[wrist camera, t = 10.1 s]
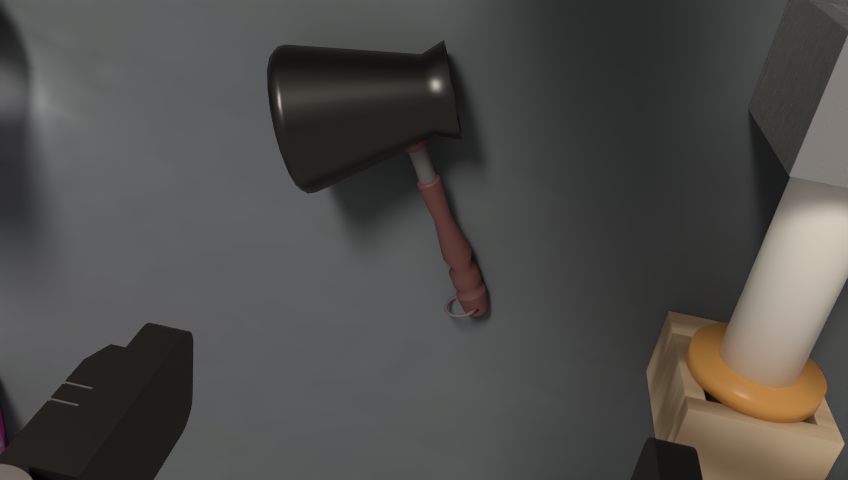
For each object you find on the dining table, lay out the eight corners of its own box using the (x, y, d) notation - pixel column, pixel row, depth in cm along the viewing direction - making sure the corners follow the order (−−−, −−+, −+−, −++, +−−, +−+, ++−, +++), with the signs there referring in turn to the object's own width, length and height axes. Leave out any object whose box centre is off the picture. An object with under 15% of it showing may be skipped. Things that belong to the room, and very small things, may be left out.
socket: (668, 310, 46) (688, 408, 39) (798, 338, 46) (844, 443, 38) (646, 371, 49) (660, 475, 41) (770, 398, 48) (808, 509, 41)
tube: (787, 39, 37) (829, 83, 31) (937, 68, 37) (1008, 118, 31) (666, 356, 46) (681, 436, 40) (786, 382, 46) (818, 467, 40)
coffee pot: (276, 26, 42) (436, -7, 41) (358, 293, 52) (488, 271, 51) (253, 83, 36) (442, 46, 35) (352, 374, 46) (500, 350, 45)
